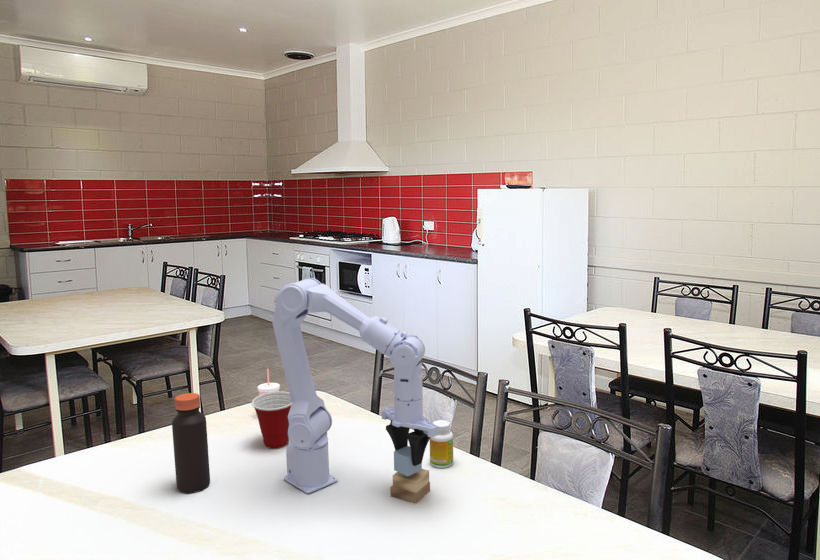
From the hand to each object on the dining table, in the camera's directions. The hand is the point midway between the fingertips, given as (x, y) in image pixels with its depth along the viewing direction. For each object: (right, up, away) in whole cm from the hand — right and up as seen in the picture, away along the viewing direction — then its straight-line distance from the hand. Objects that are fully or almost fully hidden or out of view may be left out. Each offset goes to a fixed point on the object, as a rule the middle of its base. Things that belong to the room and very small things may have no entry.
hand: (409, 460), depth 120 cm
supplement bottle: (+7, -6, +15) cm, 18 cm away
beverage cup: (-40, -2, +46) cm, 61 cm away
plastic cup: (-33, -4, +27) cm, 43 cm away
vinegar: (-46, -8, +6) cm, 47 cm away
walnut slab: (0, -8, +1) cm, 8 cm away
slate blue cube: (0, -2, 0) cm, 2 cm away
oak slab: (0, -5, +1) cm, 5 cm away
